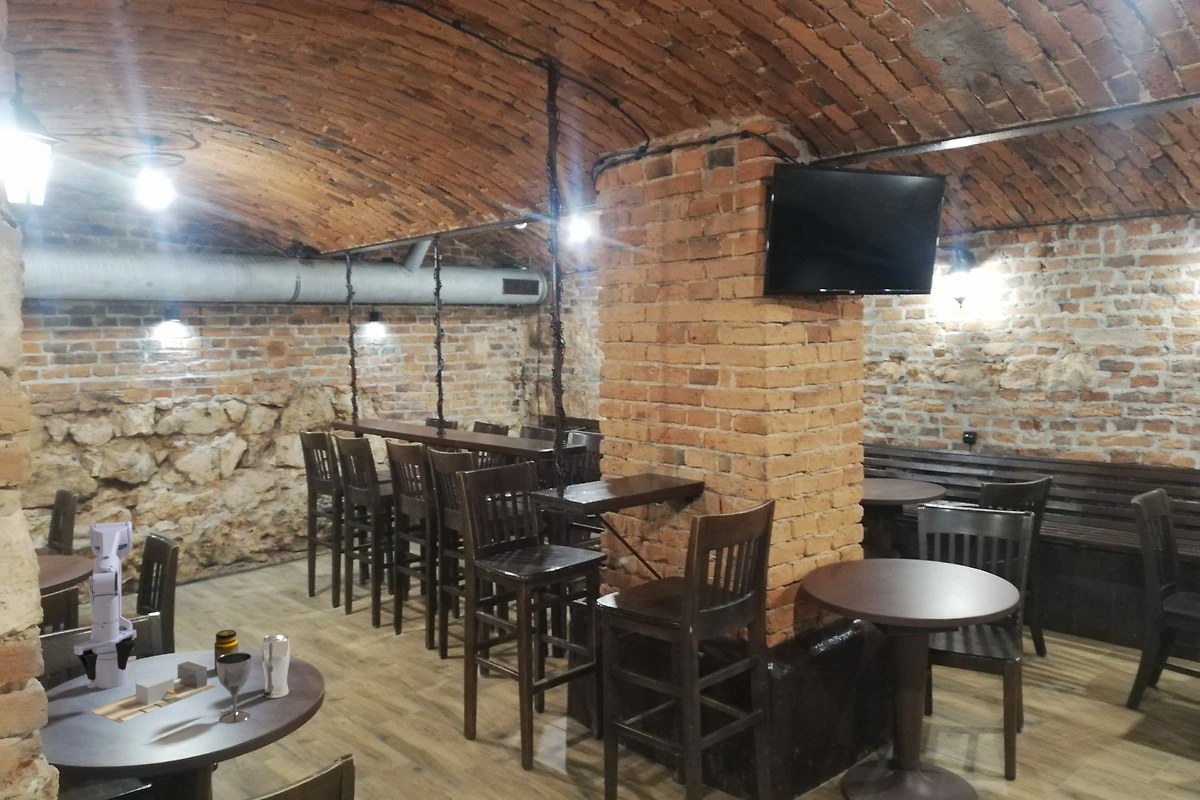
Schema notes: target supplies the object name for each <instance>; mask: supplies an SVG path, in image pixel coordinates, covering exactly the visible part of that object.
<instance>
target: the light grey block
mask: <svg viewBox="0 0 1200 800" xmlns="http://www.w3.org/2000/svg"><path fill="white" fill-rule="evenodd" d="M182 682H183V678H179V679H178V678H176V679H174V677H169V676H168V675H164V674H159V675H157V676H154V677H150V678H148V679H145V680H142V681H139V682H136V683H135V694H136V701H138V702H141V703H144V704H146V705H150V704H152V703H155V702H158V701H160V700H163V699H166V698H168V697H171V696H174V694H175V692H174V685H176V684H179V683H182Z"/></svg>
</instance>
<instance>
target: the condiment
mask: <svg viewBox="0 0 1200 800" xmlns="http://www.w3.org/2000/svg"><path fill="white" fill-rule="evenodd" d="M235 652H239V642H238V639H237V631H236V630H234V629H225V630H224V629H223V630H220V631H218V632H217V633H216V634H215V642H214V673H215V674H217V666H216V660H217V658H218V657H220V656H222V655H225V654H229V653H235Z"/></svg>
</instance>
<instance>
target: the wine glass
mask: <svg viewBox="0 0 1200 800" xmlns="http://www.w3.org/2000/svg"><path fill="white" fill-rule="evenodd" d="M216 666H217V673H216V674H217V677H218V681H219V683H220V684H221V686H223V687H224V688H225V689H226V690H227V691H228V692H229V693H230V695H231V699H232V711H230V712H226V713H224V714H222V715H221V716H220V717H219V720H218V721H219V722H220V723H223V724H236V723H241V722H244V721H246V720H248V719H249V718H250V717H251V713H250V712H249V711H245V710H237V702H238V696H239V695H238V694H239V692H240V690H241V689H242V688H243V686H245V685H246V683H247V682H248V681H249V678H250V674H251V672H252V671H251V669H252V655H251V653H248V652H245V651H243V652H241V651H238V652H235V653H229V654H225V655H222V656H220V657H218V658H217V660H216Z"/></svg>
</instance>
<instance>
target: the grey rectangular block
mask: <svg viewBox="0 0 1200 800" xmlns="http://www.w3.org/2000/svg"><path fill="white" fill-rule="evenodd" d="M207 671H208V668H207V666H204V665H200V664H197V663H194V662H191V661H183V662H182V663H179V664H177V679H179V678H183V682H182V683H179V684H182V685H185V686H188V687H191V688H194V689H198V688H202V687H205V686H207V683H208V672H207Z"/></svg>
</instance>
